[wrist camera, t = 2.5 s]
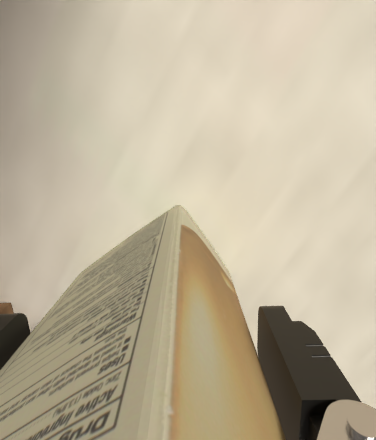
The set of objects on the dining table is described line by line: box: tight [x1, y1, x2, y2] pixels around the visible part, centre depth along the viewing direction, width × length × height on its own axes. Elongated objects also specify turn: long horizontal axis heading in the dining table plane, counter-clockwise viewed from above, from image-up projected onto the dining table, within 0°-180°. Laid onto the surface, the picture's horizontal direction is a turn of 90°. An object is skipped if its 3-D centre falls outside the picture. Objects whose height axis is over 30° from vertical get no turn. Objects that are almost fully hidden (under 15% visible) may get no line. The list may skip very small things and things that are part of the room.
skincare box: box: [0, 205, 286, 440], centre depth 8 cm, size 6×4×12 cm
